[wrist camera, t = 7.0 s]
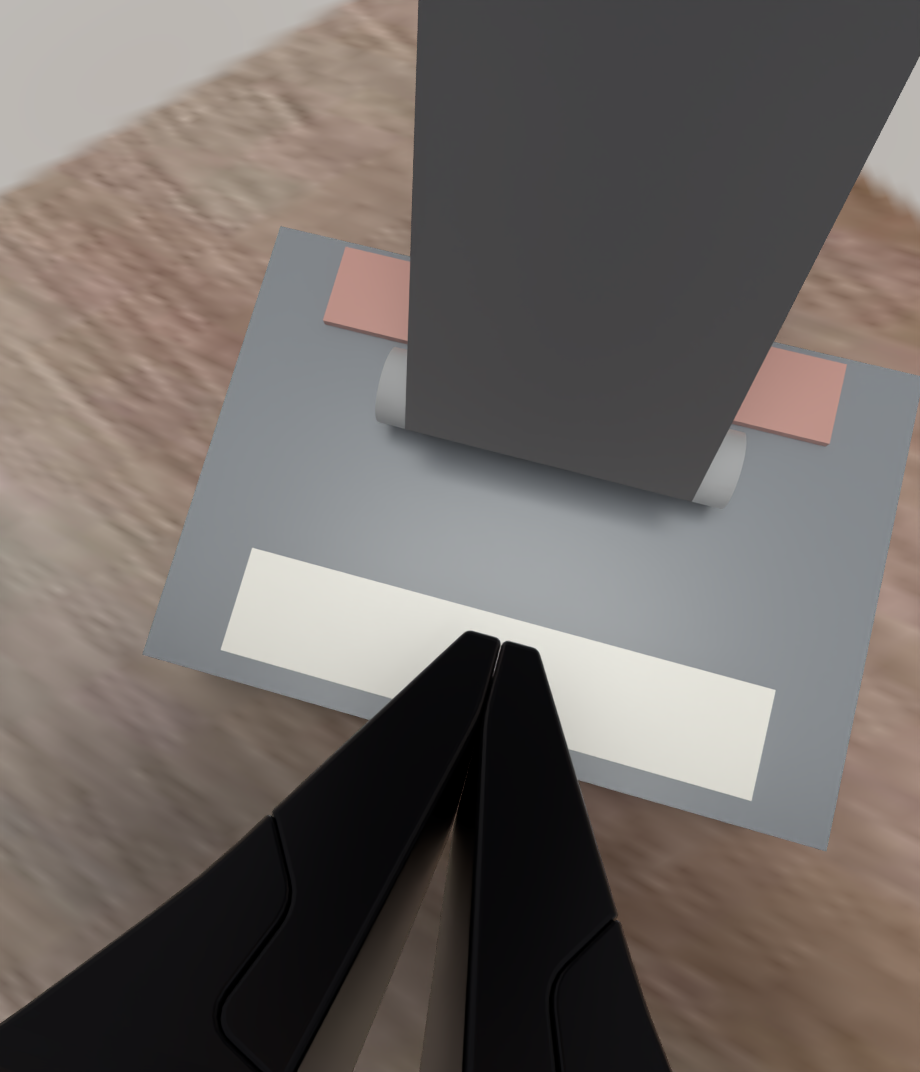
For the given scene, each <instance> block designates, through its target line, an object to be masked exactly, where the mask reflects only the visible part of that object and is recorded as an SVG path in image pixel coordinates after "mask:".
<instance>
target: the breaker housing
mask: <svg viewBox="0 0 920 1072" xmlns="http://www.w3.org/2000/svg"><path fill="white" fill-rule="evenodd" d="M409 282H410V256H405V255H401V254H397V253H393V252H388V251H384V250H380V249H376V248H371V247H367V246H363V245H358V244H354V243H350V242H346V241H341V240H337V239H333V238H329V237H324V236H320V235H316V234H312V233H307V232H303V231H299V230H295V229H290V228H286V227H282V226H281V227H280V230H279V233H278V236H277V239H276V242H275V245H274V248H273V251H272V254H271V258H270V261H269V264H268V267H267V270H266V273H265V276H264V279H263V282H262V285H261V289H260V292H259V295H258V298H257V301H256V304H255V307H254V310H253V313H252V316H251V320H250V323H249V326H248V329H247V332H246V335H245V338H244V341H243V344H242V347H241V351H240V354H239V357H238V360H237V363H236V366H235V369H234V372H233V375H232V378H231V381H230V385H229V388H228V391H227V394H226V397H225V400H224V403H223V406H222V409H221V412H220V416H219V419H218V422H217V425H216V428H215V431H214V434H213V437H212V440H211V443H210V447H209V450H208V453H207V456H206V459H205V462H204V465H203V468H202V471H201V474H200V478H199V481H198V484H197V487H196V490H195V493H194V496H193V499H192V502H191V505H190V509H189V512H188V515H187V518H186V521H185V524H184V527H183V530H182V533H181V536H180V539H179V543H178V546H177V549H176V552H175V555H174V558H173V561H172V564H171V567H170V570H169V574H168V577H167V580H166V583H165V586H164V589H163V592H162V595H161V598H160V601H159V605H158V608H157V611H156V614H155V617H154V620H153V623H152V626H151V629H150V632H149V636H148V639H147V642H146V645H145V648H144V651H143V654H142V655H145V656H149V657H152V658H156V659H159V660H163V661H166V662H170V663H173V664H177V665H180V666H184V667H187V668H191V669H194V670H198V671H201V672H205V673H208V674H211V675H215V676H218V677H222V678H225V679H229V680H232V681H236V682H239V683H243V684H246V685H250V686H253V687H257V688H260V689H264V690H267V691H271V692H274V693H278V694H281V695H284V696H288V697H291V698H295V699H298V700H302V701H305V702H309V703H312V704H316V705H319V706H323V707H326V708H330V709H333V710H337V711H340V712H344V713H347V714H351V715H354V716H357V717H361V718H364V719H368V720H370V719H371V718H372V717H373V716H375V715H376V714H377V713H378V712H379V711H380V710H381V709H382V708H383V707H384V706H385V705H386V704H387V703H388V702H390V701H391V700H392V699H393V698H394V697H395V696H396V695H397V694H398V693H399V692H400V691H401V690H402V689H404V688H405V687H406V686H407V685H408V684H409V683H410V682H411V681H412V680H413V679H414V678H415V677H416V676H418V675H419V674H420V673H421V672H422V671H423V670H424V669H425V668H426V667H427V666H428V665H429V664H430V663H432V662H433V661H434V660H435V659H436V658H437V657H438V656H439V655H440V654H441V653H442V652H443V651H444V650H445V649H447V648H448V647H449V646H450V645H451V644H452V643H453V642H454V641H455V640H456V639H457V638H458V637H459V636H461V635H462V634H463V633H464V632H466V631H470V630H471V631H475V632H479V633H483V634H486V635H490V636H493V637H497V638H498V639H499V640H500V642H501V645H502V643H503V642H505V641H512V642H515V643H519V644H522V645H526V646H530V647H533V648H536V649H537V650H538V651H539V653H540V656H541V659H542V662H543V666H544V669H545V672H546V676H547V679H548V682H549V686H550V689H551V692H552V696H553V699H554V702H555V706H556V709H557V712H558V716H559V719H560V722H561V726H562V729H563V732H564V736H565V739H566V742H567V746H568V749H569V752H570V756H571V759H572V763H573V766H574V769H575V773H576V776H577V779H578V780H580V781H583V782H587V783H590V784H594V785H597V786H601V787H604V788H608V789H611V790H615V791H618V792H622V793H625V794H629V795H632V796H635V797H639V798H642V799H646V800H649V801H653V802H656V803H660V804H663V805H667V806H670V807H674V808H677V809H681V810H684V811H688V812H691V813H695V814H698V815H701V816H705V817H708V818H712V819H715V820H719V821H722V822H726V823H729V824H733V825H736V826H740V827H743V828H747V829H750V830H754V831H757V832H761V833H764V834H768V835H771V836H774V837H778V838H781V839H785V840H788V841H792V842H795V843H799V844H802V845H806V846H809V847H813V848H816V849H820V850H823V851H827V846H828V841H829V836H830V831H831V826H832V822H833V817H834V812H835V807H836V802H837V797H838V792H839V787H840V783H841V778H842V773H843V768H844V763H845V758H846V753H847V748H848V744H849V739H850V734H851V729H852V724H853V719H854V714H855V709H856V705H857V700H858V695H859V690H860V685H861V680H862V675H863V670H864V666H865V661H866V656H867V651H868V646H869V641H870V636H871V631H872V627H873V622H874V617H875V612H876V607H877V602H878V597H879V592H880V588H881V583H882V578H883V573H884V568H885V563H886V558H887V553H888V549H889V544H890V539H891V534H892V529H893V524H894V519H895V514H896V510H897V505H898V500H899V495H900V490H901V485H902V480H903V475H904V471H905V466H906V461H907V456H908V451H909V446H910V441H911V436H912V432H913V427H914V422H915V417H916V412H917V407H918V402H919V397H920V376H917V375H913V374H909V373H904V372H900V371H896V370H892V369H887V368H883V367H879V366H875V365H870V364H866V363H862V362H858V361H853V360H849V359H845V358H840V357H836V356H832V355H828V354H823V353H819V352H815V351H811V350H806V349H802V348H798V347H794V346H789V345H785V344H781V343H777V342H773V344H772V346H771V348H770V350H769V352H768V354H767V356H766V358H765V360H764V362H763V364H762V366H761V368H760V369H759V371H758V373H757V375H756V377H755V379H754V381H753V383H752V385H751V387H750V389H749V391H748V393H747V395H746V397H745V399H744V401H743V403H742V405H741V407H740V409H739V411H738V413H737V414H736V416H735V418H734V420H733V422H732V424H731V426H730V428H729V429H732V430H736V431H740V432H744V433H745V434H746V441H747V442H746V452H745V457H744V462H743V466H742V470H741V473H740V476H739V479H738V482H737V485H736V487H735V490H734V492H733V494H732V496H731V498H730V500H729V502H728V504H727V505H726V506H725V507H724V508H723V509H719V508H715V507H711V506H707V505H703V504H699V503H695V502H690V501H686V500H682V499H678V498H674V497H670V496H666V495H663V494H659V493H655V492H651V491H647V490H643V489H639V488H635V487H631V486H627V485H623V484H619V483H615V482H611V481H607V480H603V479H600V478H596V477H592V476H588V475H584V474H580V473H576V472H572V471H568V470H564V469H560V468H556V467H552V466H548V465H544V464H540V463H537V462H533V461H529V460H525V459H521V458H517V457H513V456H509V455H505V454H501V453H497V452H493V451H489V450H485V449H481V448H477V447H474V446H470V445H466V444H462V443H458V442H454V441H450V440H446V439H442V438H438V437H434V436H430V435H426V434H422V433H418V432H414V431H411V430H407V429H404V428H400V427H396V426H392V425H388V424H384V423H380V422H377V420H376V415H375V406H376V396H377V390H378V385H379V381H380V377H381V373H382V370H383V367H384V364H385V361H386V359H387V357H388V355H389V353H390V351H391V350H392V349H393V348H394V347H397V348H401V349H405V350H407V344H408V313H409ZM500 648H501V647H500ZM499 652H500V651H499ZM498 656H499V654H498ZM497 659H498V658H497ZM496 663H497V662H496ZM495 667H496V666H495ZM492 678H493V677H492Z"/></svg>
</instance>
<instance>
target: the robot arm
mask: <svg viewBox="0 0 920 1072" xmlns="http://www.w3.org/2000/svg"><path fill="white" fill-rule="evenodd" d="M500 647H501V648H500ZM499 651H500V652H499ZM498 654H499V656H498ZM497 658H498V659H497ZM496 662H497V663H496ZM495 666H496V667H495ZM492 677H493V678H492ZM471 756H472V757H471ZM470 760H471V761H470ZM468 767H469V768H468ZM467 771H468V772H467ZM466 775H467V776H466ZM465 779H466V780H465ZM464 782H465V784H464ZM463 786H464V787H463ZM462 790H463V791H462ZM461 794H462V795H461ZM460 797H461V799H460ZM459 801H460V803H459ZM458 805H459V807H458ZM457 808H458V811H457ZM456 812H457V815H456ZM455 815H456V819H455V824H454V829H453V834H452V840H451V846H450V853H449V861H448V868H447V875H446V882H445V890H444V897H443V904H442V912H441V919H440V926H439V933H438V941H437V948H436V955H435V963H434V970H433V977H432V984H431V992H430V999H429V1006H428V1013H427V1021H426V1028H425V1035H424V1043H423V1050H422V1057H421V1064H420V1072H672V1070H671V1067H670V1064H669V1062H668V1059H667V1057H666V1054H665V1052H664V1049H663V1047H662V1044H661V1042H660V1039H659V1037H658V1034H657V1031H656V1029H655V1026H654V1024H653V1021H652V1019H651V1016H650V1013H649V1010H648V1007H647V1004H646V1001H645V998H644V995H643V992H642V989H641V986H640V983H639V980H638V977H637V974H636V971H635V968H634V965H633V962H632V959H631V955H630V952H629V949H628V945H627V942H626V939H625V935H624V932H623V929H622V925H621V923H620V922H619V921H617V920H616V918H617V916H618V913H617V910H616V906H615V903H614V900H613V896H612V893H611V890H610V886H609V883H608V880H607V876H606V873H605V870H604V866H603V863H602V860H601V856H600V853H599V849H598V846H597V843H596V839H595V836H594V833H593V829H592V826H591V823H590V819H589V816H588V813H587V809H586V806H585V803H584V799H583V796H582V793H581V789H580V786H579V783H578V779H577V776H576V773H575V769H574V766H573V763H572V759H571V756H570V752H569V749H568V746H567V742H566V739H565V736H564V732H563V729H562V726H561V722H560V719H559V716H558V712H557V709H556V706H555V702H554V699H553V696H552V692H551V689H550V686H549V682H548V679H547V676H546V672H545V669H544V666H543V662H542V659H541V656H540V653H539V651H538V650H537V649H536V648H533V647H530V646H526V645H522V644H519V643H515V642H512V641H505V642H503V643H502V645H501V642H500V640H499V639H498V638H497V637H493V636H490V635H486V634H483V633H479V632H475V631H471V630H470V631H466V632H464V633H463V634H462V635H461V636H459V637H458V638H457V639H456V640H455V641H454V642H453V643H452V644H451V645H450V646H449V647H448V648H447V649H445V650H444V651H443V652H442V653H441V654H440V655H439V656H438V657H437V658H436V659H435V660H434V661H433V662H432V663H430V664H429V665H428V666H427V667H426V668H425V669H424V670H423V671H422V672H421V673H420V674H419V675H418V676H416V677H415V678H414V679H413V680H412V681H411V682H410V683H409V684H408V685H407V686H406V687H405V688H404V689H402V690H401V691H400V692H399V693H398V694H397V695H396V696H395V697H394V698H393V699H392V700H391V701H390V702H388V703H387V704H386V705H385V706H384V707H383V708H382V709H381V710H380V711H379V712H378V713H377V714H376V715H375V716H373V717H372V718H371V719H370V720H369V721H368V722H367V723H366V724H365V725H364V726H363V727H362V728H361V729H359V730H358V731H357V732H356V733H355V734H354V735H353V736H352V737H351V738H350V739H349V740H348V741H347V742H345V743H344V744H343V745H342V746H341V747H340V748H339V749H338V750H337V751H336V752H335V753H334V754H333V755H331V756H330V757H329V758H328V759H327V760H326V761H325V762H324V763H323V764H322V765H321V766H320V767H319V768H317V769H316V770H315V771H314V772H313V773H312V774H311V775H310V776H309V777H308V778H307V779H306V780H305V781H304V782H302V783H301V784H300V785H299V786H298V787H297V788H296V789H295V790H294V791H293V792H292V793H291V794H290V795H288V796H287V797H286V798H285V799H284V800H283V801H282V802H281V803H280V804H279V805H278V806H277V807H276V808H274V810H273V811H272V816H271V815H267V816H265V817H264V818H263V819H262V820H261V821H260V822H259V823H258V824H257V825H256V826H255V827H254V828H252V829H251V830H250V831H249V832H248V833H247V834H246V835H245V836H244V837H243V838H242V839H241V840H240V841H238V842H237V843H236V844H235V845H234V846H233V847H232V848H230V849H229V850H228V851H227V852H226V853H225V854H224V855H222V856H221V857H220V858H219V859H218V860H217V861H215V862H214V863H213V864H212V865H211V866H210V867H209V868H207V869H206V870H205V871H204V872H203V873H202V874H201V875H199V876H198V877H197V878H196V879H194V880H193V881H192V882H191V883H189V884H188V885H187V886H185V887H184V888H183V889H181V890H180V891H179V892H178V893H176V894H175V895H174V896H172V897H171V898H170V899H169V900H167V901H166V902H165V903H163V904H162V905H161V906H160V907H158V908H157V909H156V910H154V911H153V912H152V913H151V914H149V915H148V916H147V917H145V918H144V919H142V920H141V921H140V922H138V923H137V924H136V925H134V926H133V927H132V928H130V929H129V930H128V931H126V932H125V933H123V934H122V935H121V936H119V937H118V938H117V939H115V940H114V941H113V942H111V943H110V944H109V945H107V946H106V947H104V948H103V949H102V950H100V951H99V952H98V953H96V954H95V955H94V956H92V957H91V958H90V959H88V960H87V961H85V962H84V963H83V964H81V965H80V966H79V967H77V968H76V969H75V970H73V971H72V972H71V973H69V974H68V975H66V976H65V977H64V978H62V979H61V980H60V981H58V982H57V983H56V984H54V985H53V986H52V987H50V988H49V989H47V990H46V991H45V992H43V993H42V994H41V995H39V996H38V997H37V998H35V999H34V1000H33V1001H31V1002H30V1003H28V1004H27V1005H26V1006H24V1007H23V1008H21V1009H20V1010H19V1011H17V1012H16V1013H14V1014H13V1015H12V1016H10V1017H9V1018H7V1019H6V1020H5V1021H3V1022H2V1023H0V1072H353V1069H354V1067H355V1064H356V1062H357V1059H358V1057H359V1054H360V1052H361V1050H362V1047H363V1045H364V1042H365V1040H366V1037H367V1035H368V1032H369V1030H370V1028H371V1025H372V1023H373V1020H374V1018H375V1015H376V1013H377V1010H378V1008H379V1005H380V1003H381V1001H382V998H383V996H384V993H385V991H386V988H387V986H388V983H389V981H390V979H391V976H392V974H393V971H394V969H395V966H396V964H397V961H398V959H399V957H400V954H401V952H402V949H403V947H404V944H405V942H406V939H407V937H408V934H409V932H410V930H411V927H412V925H413V922H414V920H415V917H416V915H417V912H418V910H419V908H420V905H421V903H422V900H423V898H424V895H425V893H426V890H427V888H428V886H429V883H430V881H431V878H432V876H433V873H434V871H435V868H436V866H437V864H438V861H439V859H440V856H441V854H442V851H443V849H444V846H445V844H446V841H447V838H448V836H449V833H450V830H451V828H452V825H453V821H454V818H455Z"/></svg>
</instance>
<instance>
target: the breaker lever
mask: <svg viewBox="0 0 920 1072" xmlns="http://www.w3.org/2000/svg"><path fill="white" fill-rule="evenodd" d="M919 56H920V0H419V3H418V34H417V65H416V96H415V127H414V158H413V189H412V220H411V251H410V282H409V313H408V344H407V350H405V349H401V348H397V347H394V348H393V349H392V350H391V351H390V353H389V355H388V357H387V359H386V361H385V364H384V367H383V370H382V373H381V377H380V381H379V385H378V390H377V396H376V406H375V415H376V420H377V422H380V423H384V424H388V425H392V426H396V427H400V428H404V429H407V430H411V431H414V432H418V433H422V434H426V435H430V436H434V437H438V438H442V439H446V440H450V441H454V442H458V443H462V444H466V445H470V446H474V447H477V448H481V449H485V450H489V451H493V452H497V453H501V454H505V455H509V456H513V457H517V458H521V459H525V460H529V461H533V462H537V463H540V464H544V465H548V466H552V467H556V468H560V469H564V470H568V471H572V472H576V473H580V474H584V475H588V476H592V477H596V478H600V479H603V480H607V481H611V482H615V483H619V484H623V485H627V486H631V487H635V488H639V489H643V490H647V491H651V492H655V493H659V494H663V495H666V496H670V497H674V498H678V499H682V500H686V501H690V502H695V503H699V504H703V505H707V506H711V507H715V508H719V509H723V508H724V507H725V506H726V505H727V504H728V502H729V500H730V498H731V496H732V494H733V492H734V490H735V487H736V485H737V482H738V479H739V476H740V473H741V470H742V466H743V462H744V457H745V452H746V442H747V441H746V434H745V433H744V432H740V431H736V430H732V429H729V428H730V426H731V424H732V422H733V420H734V418H735V416H736V414H737V413H738V411H739V409H740V407H741V405H742V403H743V401H744V399H745V397H746V395H747V393H748V391H749V389H750V387H751V385H752V383H753V381H754V379H755V377H756V375H757V373H758V371H759V369H760V368H761V366H762V364H763V362H764V360H765V358H766V356H767V354H768V352H769V350H770V348H771V346H772V344H773V342H774V340H775V338H776V336H777V334H778V332H779V330H780V328H781V326H782V324H783V323H784V321H785V319H786V317H787V315H788V313H789V311H790V309H791V307H792V305H793V303H794V301H795V299H796V297H797V295H798V293H799V291H800V289H801V287H802V285H803V283H804V281H805V279H806V278H807V276H808V274H809V272H810V270H811V268H812V266H813V264H814V262H815V260H816V258H817V256H818V254H819V252H820V250H821V248H822V246H823V244H824V242H825V240H826V238H827V236H828V234H829V233H830V231H831V229H832V227H833V225H834V223H835V221H836V219H837V217H838V215H839V213H840V211H841V209H842V207H843V205H844V203H845V201H846V199H847V197H848V195H849V193H850V191H851V189H852V188H853V186H854V184H855V182H856V180H857V178H858V176H859V174H860V172H861V170H862V168H863V166H864V164H865V162H866V160H867V158H868V156H869V154H870V152H871V150H872V148H873V146H874V144H875V143H876V140H877V139H878V136H879V135H880V133H881V130H882V129H883V127H884V125H885V123H886V121H887V119H888V117H889V115H890V113H891V111H892V109H893V107H894V105H895V103H896V101H897V99H898V98H899V95H900V93H901V92H902V90H903V88H904V86H905V84H906V82H907V80H908V78H909V76H910V74H911V72H912V70H913V68H914V66H915V64H916V62H917V60H918V58H919Z"/></svg>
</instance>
